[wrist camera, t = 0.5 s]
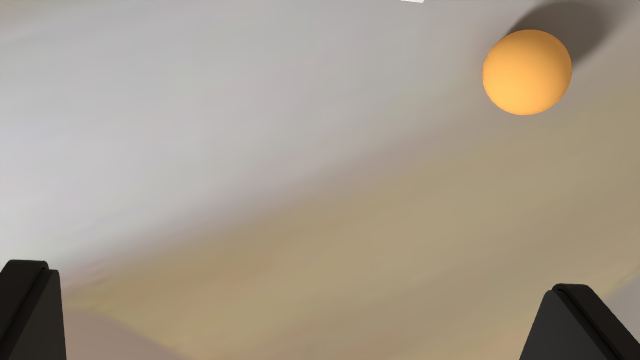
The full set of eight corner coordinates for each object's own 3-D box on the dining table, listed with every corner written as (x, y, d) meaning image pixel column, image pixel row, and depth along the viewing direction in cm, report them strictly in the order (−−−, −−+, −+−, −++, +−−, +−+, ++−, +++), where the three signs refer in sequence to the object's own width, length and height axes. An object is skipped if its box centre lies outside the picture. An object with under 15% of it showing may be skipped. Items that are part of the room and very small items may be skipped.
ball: (481, 17, 34) (516, 36, 30) (557, 25, 35) (602, 45, 30) (462, 95, 36) (491, 124, 32) (533, 102, 37) (572, 130, 33)
